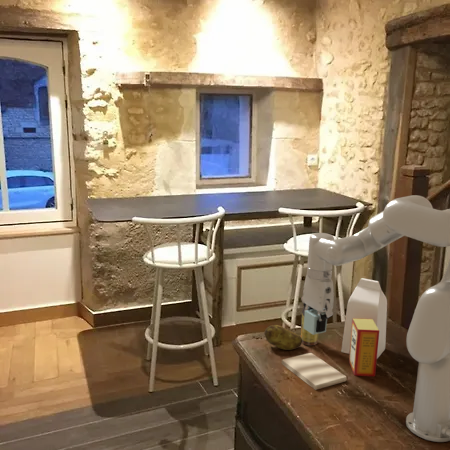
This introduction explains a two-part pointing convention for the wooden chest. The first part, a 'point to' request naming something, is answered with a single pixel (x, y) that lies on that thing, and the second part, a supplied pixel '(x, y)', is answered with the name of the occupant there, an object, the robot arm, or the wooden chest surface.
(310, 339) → the sauce bottle
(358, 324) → the baking soda box
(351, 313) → the milk
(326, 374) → the birch board
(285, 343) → the potato
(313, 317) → the teal block
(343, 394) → the wooden chest surface
